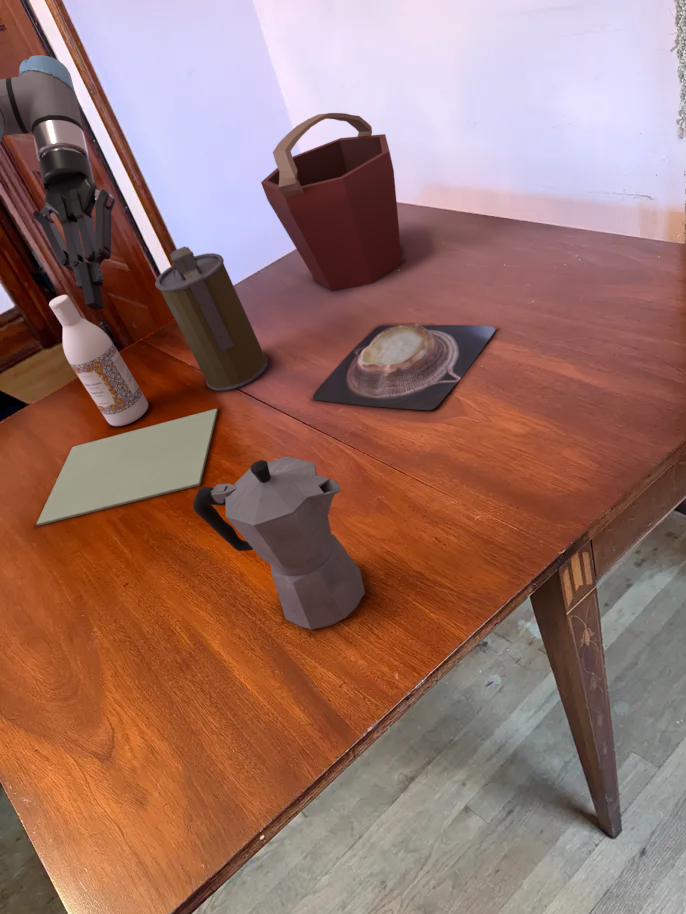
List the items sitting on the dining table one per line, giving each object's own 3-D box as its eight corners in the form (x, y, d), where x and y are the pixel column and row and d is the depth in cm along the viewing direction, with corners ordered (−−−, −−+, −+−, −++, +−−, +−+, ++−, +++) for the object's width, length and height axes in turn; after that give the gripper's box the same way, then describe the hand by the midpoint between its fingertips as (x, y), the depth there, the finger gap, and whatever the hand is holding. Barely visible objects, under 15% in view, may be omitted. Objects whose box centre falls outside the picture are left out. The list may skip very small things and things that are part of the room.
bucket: (344, 310, 125) (290, 155, 109) (272, 289, 140) (215, 149, 123) (444, 243, 134) (409, 90, 118) (367, 229, 149) (326, 92, 132)
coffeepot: (393, 560, 79) (339, 424, 67) (373, 631, 73) (310, 495, 61) (263, 565, 84) (192, 439, 72) (235, 632, 78) (151, 506, 66)
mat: (37, 526, 102) (36, 524, 102) (73, 448, 115) (72, 446, 115) (200, 485, 99) (198, 483, 99) (218, 410, 112) (216, 408, 112)
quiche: (498, 329, 108) (493, 304, 105) (434, 413, 97) (427, 387, 94) (379, 325, 118) (371, 302, 116) (309, 400, 107) (299, 377, 105)
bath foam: (101, 429, 118) (25, 315, 104) (122, 403, 122) (52, 290, 109) (136, 426, 115) (63, 309, 102) (157, 399, 120) (90, 284, 106)
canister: (201, 373, 123) (141, 257, 109) (259, 346, 124) (206, 229, 111) (214, 401, 115) (152, 279, 101) (276, 372, 116) (222, 249, 103)
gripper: (115, 161, 119) (145, 303, 118) (41, 185, 121) (71, 324, 120) (88, 135, 112) (120, 286, 111) (11, 161, 114) (42, 310, 113)
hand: (95, 306), depth 115 cm, fingers closed
